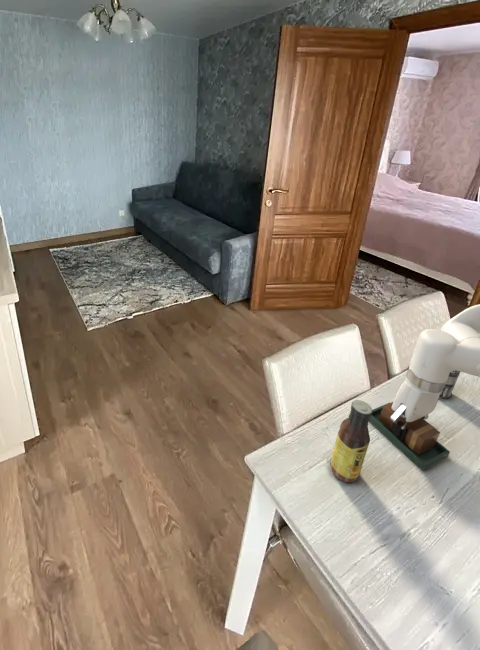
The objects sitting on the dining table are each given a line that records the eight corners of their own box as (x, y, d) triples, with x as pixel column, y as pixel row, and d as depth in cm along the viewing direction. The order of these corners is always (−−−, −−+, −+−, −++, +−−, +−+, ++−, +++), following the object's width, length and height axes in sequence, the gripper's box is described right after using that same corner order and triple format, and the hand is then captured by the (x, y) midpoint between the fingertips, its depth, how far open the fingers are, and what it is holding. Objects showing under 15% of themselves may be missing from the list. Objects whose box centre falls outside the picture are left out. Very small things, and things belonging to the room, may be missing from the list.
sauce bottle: (353, 490, 77) (373, 426, 70) (325, 471, 81) (341, 409, 74) (362, 469, 82) (382, 407, 74) (335, 452, 86) (351, 391, 78)
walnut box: (378, 419, 93) (382, 405, 91) (394, 413, 96) (398, 399, 94) (418, 455, 84) (423, 440, 82) (434, 446, 86) (440, 432, 84)
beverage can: (424, 379, 109) (435, 349, 104) (449, 389, 105) (462, 357, 101) (423, 392, 104) (435, 361, 99) (450, 403, 100) (463, 370, 96)
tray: (447, 457, 85) (450, 451, 84) (422, 470, 82) (425, 465, 81) (388, 407, 99) (390, 402, 98) (364, 417, 95) (366, 412, 95)
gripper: (433, 358, 89) (414, 410, 96) (386, 377, 83) (369, 430, 90) (465, 378, 83) (442, 432, 89) (416, 400, 76) (396, 456, 83)
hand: (406, 431), depth 89 cm, fingers closed on walnut box, 6 cm apart
